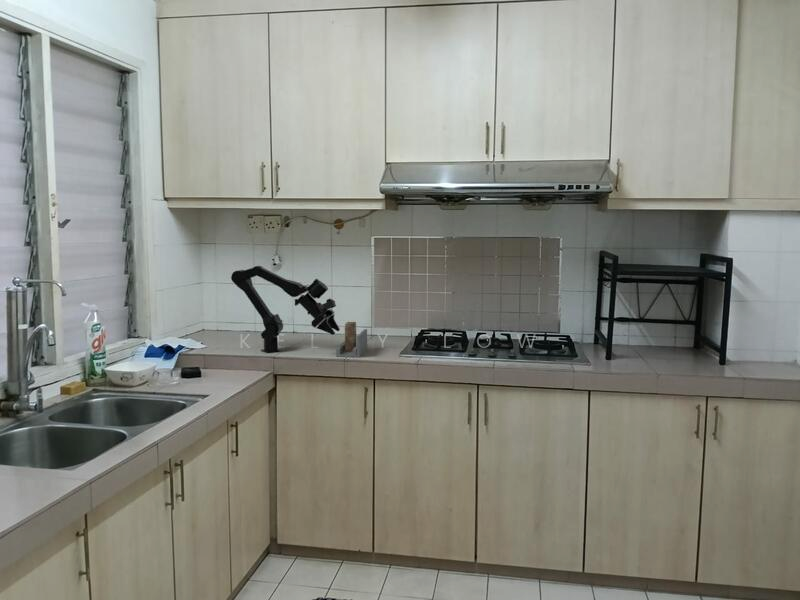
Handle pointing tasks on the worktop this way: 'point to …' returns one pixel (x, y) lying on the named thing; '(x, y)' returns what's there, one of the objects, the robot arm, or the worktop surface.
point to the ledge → (357, 349)
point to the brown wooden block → (350, 336)
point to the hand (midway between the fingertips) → (336, 332)
